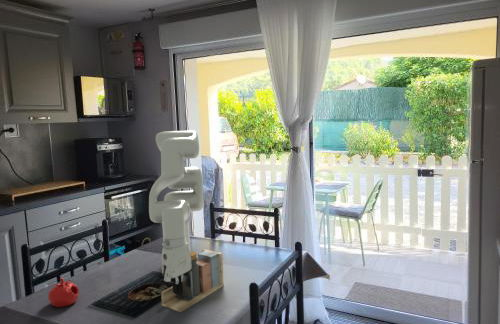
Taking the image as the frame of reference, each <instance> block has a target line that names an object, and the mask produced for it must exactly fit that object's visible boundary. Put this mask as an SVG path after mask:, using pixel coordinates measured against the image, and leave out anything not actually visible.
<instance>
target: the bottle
mask: <svg viewBox="0 0 500 324" xmlns="http://www.w3.org/2000/svg"><path fill="white" fill-rule="evenodd" d="M190 254H191V263H192V268H191V270H190V271H192V280H193V297H196V296H198V295H199V294H200V279H199V265H198V264H197V263H196V262H197V259H198V256H197V255H198V253H197V252H196V251H191V252H190Z"/></svg>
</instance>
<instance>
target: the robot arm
mask: <svg viewBox="0 0 500 324" xmlns="http://www.w3.org/2000/svg"><path fill="white" fill-rule="evenodd" d="M155 143H156V146H157V148H158V150H159V151H160V162H161V164H160V166H161V167H160V169H161V171H160V172H161V175H160V176H159V177H158V178H157V179H156V180H155V182H154V183H153V185H152V187H151V189H150V192H149V196H148V214H149V215H148V216H149V219H150V220H151V222H153V223H161V225H162V237H163V238H162V239H163V242H162V243H161V246H162V253H161V273H162V276H163V277H164V278H163V282H166V283H168V282H169V283H172V286H173V293H175V294H178V295H180V294H182V293H183V285H182V282H183V281H184V276H185V273H186V272H188V271H190V270H191V268H192V263H191V254H190V252H192V251H191V236H190V235H191V234H190V223H189V222H190V221H189V219H188V218H189V217H190V215H191V213H193V212H199V211H201V210H202V209H203V208H204V204H205V201H204V198H205V197H204V183H203V180H204V179H203V174H202V170H201V169H200V168H199V167H197V166H185V160H188V159H196V158H198V157H199V154H200V141H199V136H198V133H197V132H196V131H195V130H171V131H170V130H169V131H167V130H166V131H161V132H158V133H157V134H156V135H155ZM166 188H169V189H171V190H173V191H170V192H168V193H166V194H165V196H164V197H163V200H161V201H158V197H159V195H160V193H161V192H162V191H163V190H164V189H166ZM186 189H189V190H186ZM191 189H192V190H191ZM174 190H175V191H174Z"/></svg>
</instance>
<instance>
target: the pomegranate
mask: <svg viewBox="0 0 500 324" xmlns="http://www.w3.org/2000/svg"><path fill="white" fill-rule="evenodd" d="M59 281H60V283H52V284H50V285H49V286H50V287H51V286H53V287H52V288H51V289H50V290H49V292H48V294H47V295H48V296H47V299H48V301H49V304H50V305H52V306H53V307H56V308H64V307H67V306H70V305H73V304H74V303H75V302H76V301H77V300H78V298H79V293H80V289H79V287H78V285H77V284H75V283H73V279H69V280H67V281H64V278H63V277H60V278H59Z"/></svg>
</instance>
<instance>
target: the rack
mask: <svg viewBox="0 0 500 324" xmlns="http://www.w3.org/2000/svg"><path fill="white" fill-rule="evenodd" d="M201 251H202V252H201ZM201 251H200V252H199V253H197V262H196V263H197V264H198V265H199V279H200V294H199V295H198V296H196V297H193V298H194V299H192V300H190V301H186V300H183V299H180V298H177V297H175V296H176V295H178V294H175V293H173V285H172V286H169V287H168V288H166V289H164V290H163V291H161V292H160V296H161V298H160V299H161V307H164V308H168V309H171V310H173V311H176V312H180V313H182V312H184V311H185V310H187V309H189V308H191V306H193V305H194V304H196V303H198V302H200V301H201V300H203V299H205V298H206V297H207V296H209V295H211V294H213V293H214V292H217V291H218V290H219V289H221V288H222V287H224V285H225V284H224V269H223V268H224V263H223V253H222V252H218V251H215V250H208V249H205V248H204V249H202V250H201Z"/></svg>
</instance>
